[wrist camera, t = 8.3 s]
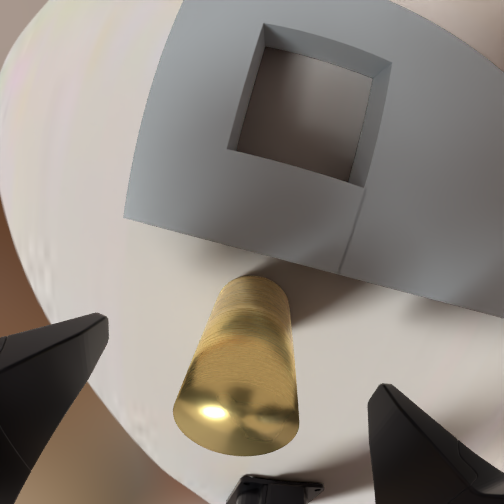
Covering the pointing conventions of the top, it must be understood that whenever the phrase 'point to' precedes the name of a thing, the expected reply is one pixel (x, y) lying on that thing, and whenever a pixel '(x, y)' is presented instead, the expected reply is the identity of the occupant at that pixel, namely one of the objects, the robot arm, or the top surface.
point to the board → (366, 159)
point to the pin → (242, 374)
